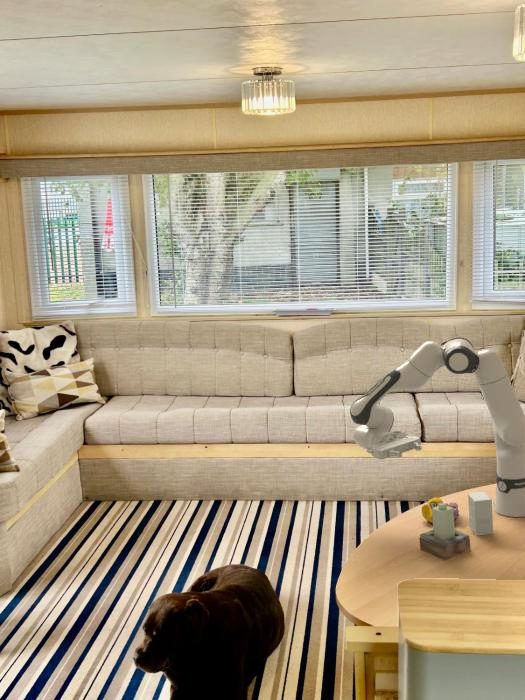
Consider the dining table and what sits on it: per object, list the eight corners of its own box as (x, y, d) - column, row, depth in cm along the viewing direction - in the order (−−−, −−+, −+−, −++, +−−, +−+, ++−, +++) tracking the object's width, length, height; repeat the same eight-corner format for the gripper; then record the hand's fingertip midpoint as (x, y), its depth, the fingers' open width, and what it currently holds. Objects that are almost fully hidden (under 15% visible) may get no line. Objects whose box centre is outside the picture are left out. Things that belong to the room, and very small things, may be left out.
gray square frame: (445, 538, 273) (444, 524, 272) (470, 549, 263) (469, 535, 262) (420, 548, 267) (419, 534, 266) (444, 560, 257) (444, 545, 256)
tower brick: (444, 533, 268) (442, 500, 265) (454, 538, 263) (453, 504, 261) (433, 538, 265) (431, 504, 263) (444, 542, 261) (442, 508, 259)
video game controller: (454, 527, 284) (462, 511, 282) (442, 523, 284) (450, 507, 283) (451, 517, 294) (459, 501, 292) (440, 512, 294) (448, 496, 292)
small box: (493, 533, 273) (492, 499, 270) (476, 535, 273) (474, 501, 270) (486, 524, 281) (484, 491, 278) (469, 526, 280) (467, 493, 278)
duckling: (452, 523, 284) (451, 498, 282) (444, 529, 281) (443, 503, 279) (427, 516, 292) (425, 492, 291) (419, 521, 289) (417, 496, 287)
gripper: (363, 442, 284) (387, 450, 272) (405, 429, 294) (430, 436, 282) (364, 458, 285) (389, 467, 273) (406, 445, 295) (431, 453, 283)
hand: (410, 451), depth 278 cm, fingers open, 8 cm apart
